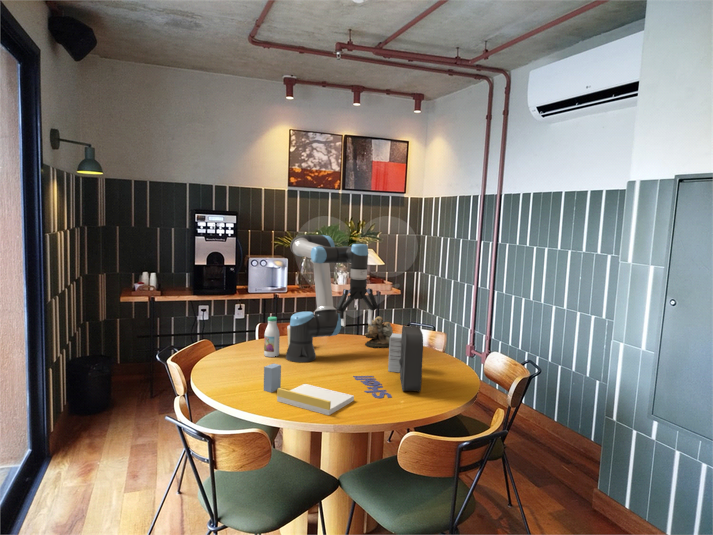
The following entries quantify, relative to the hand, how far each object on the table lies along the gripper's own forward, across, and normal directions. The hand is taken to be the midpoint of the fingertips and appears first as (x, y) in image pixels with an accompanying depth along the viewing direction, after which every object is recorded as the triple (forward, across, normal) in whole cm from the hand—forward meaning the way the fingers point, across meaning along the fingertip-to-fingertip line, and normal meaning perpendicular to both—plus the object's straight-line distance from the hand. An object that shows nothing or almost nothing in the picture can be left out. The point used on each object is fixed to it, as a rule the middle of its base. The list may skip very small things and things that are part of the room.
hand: (356, 324), depth 219 cm
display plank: (+24, -28, -22) cm, 43 cm away
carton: (+24, -40, -3) cm, 47 cm away
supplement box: (+24, +25, +1) cm, 35 cm away
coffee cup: (+25, -8, +56) cm, 62 cm away
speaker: (+24, +16, -19) cm, 35 cm away
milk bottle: (+24, -25, +46) cm, 57 cm away
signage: (+24, +1, -15) cm, 29 cm away
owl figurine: (+25, +39, +44) cm, 64 cm away
